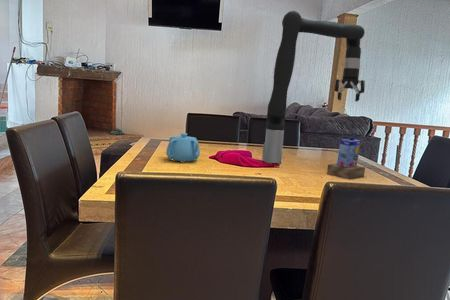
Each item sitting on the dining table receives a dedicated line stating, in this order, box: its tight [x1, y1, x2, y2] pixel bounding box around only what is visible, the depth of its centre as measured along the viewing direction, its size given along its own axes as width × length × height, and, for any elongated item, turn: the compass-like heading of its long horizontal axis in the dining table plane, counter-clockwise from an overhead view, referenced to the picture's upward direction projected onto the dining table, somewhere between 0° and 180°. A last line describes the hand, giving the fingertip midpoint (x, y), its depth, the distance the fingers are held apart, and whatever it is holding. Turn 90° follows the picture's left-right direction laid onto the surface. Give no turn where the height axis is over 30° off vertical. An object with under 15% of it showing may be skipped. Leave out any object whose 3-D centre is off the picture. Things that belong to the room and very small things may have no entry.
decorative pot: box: [165, 132, 201, 162], centre depth 190 cm, size 16×16×14 cm
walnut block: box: [326, 162, 366, 180], centre depth 180 cm, size 12×12×5 cm
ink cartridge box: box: [336, 134, 362, 168], centre depth 178 cm, size 10×6×14 cm, turn 133°
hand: (348, 100), depth 194 cm, fingers open, 8 cm apart
